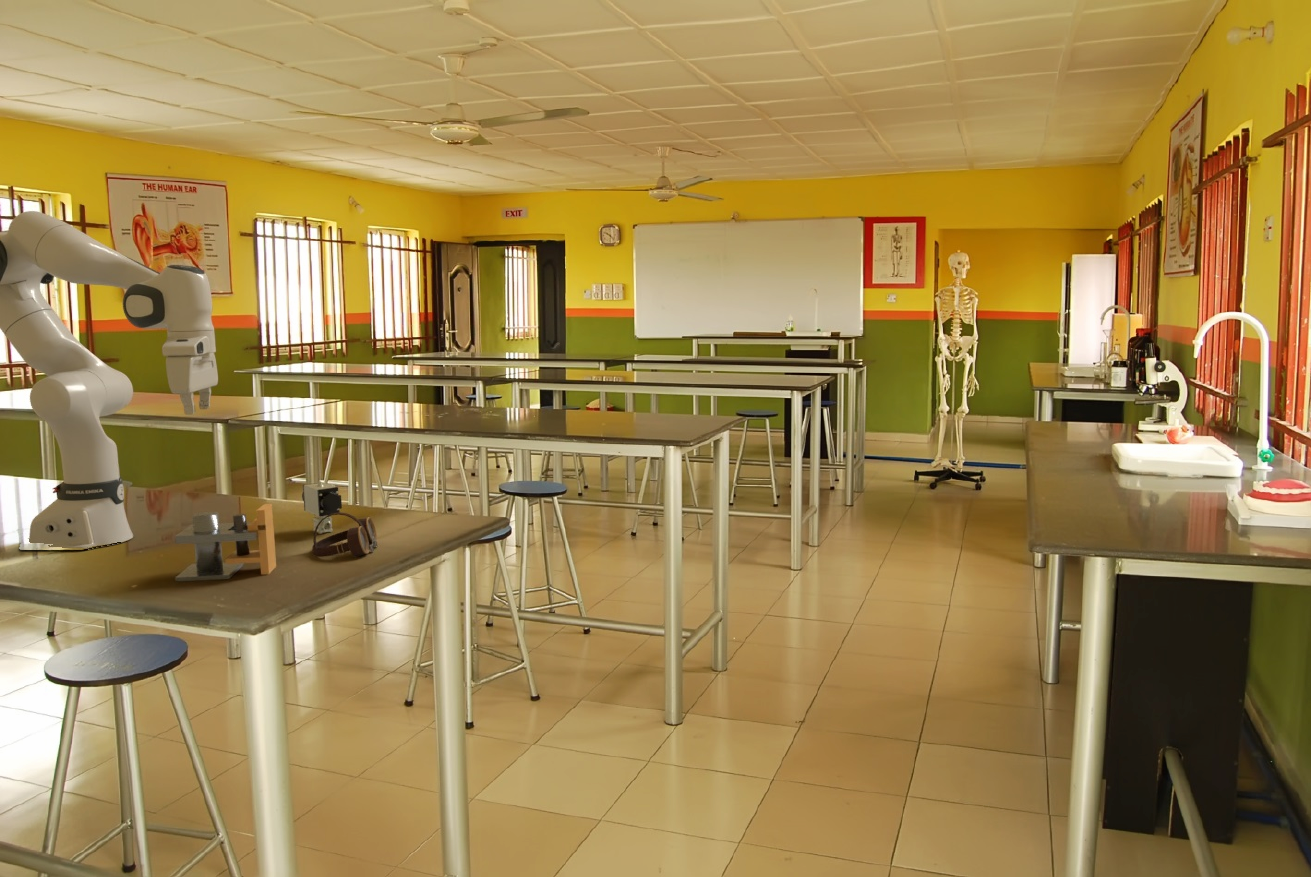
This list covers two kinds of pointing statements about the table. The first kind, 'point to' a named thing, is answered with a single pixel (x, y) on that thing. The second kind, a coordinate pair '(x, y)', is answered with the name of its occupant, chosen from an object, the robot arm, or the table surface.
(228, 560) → the bracket
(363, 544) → the goggles
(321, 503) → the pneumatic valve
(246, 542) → the pin
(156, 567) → the table surface
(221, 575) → the double plate spool
